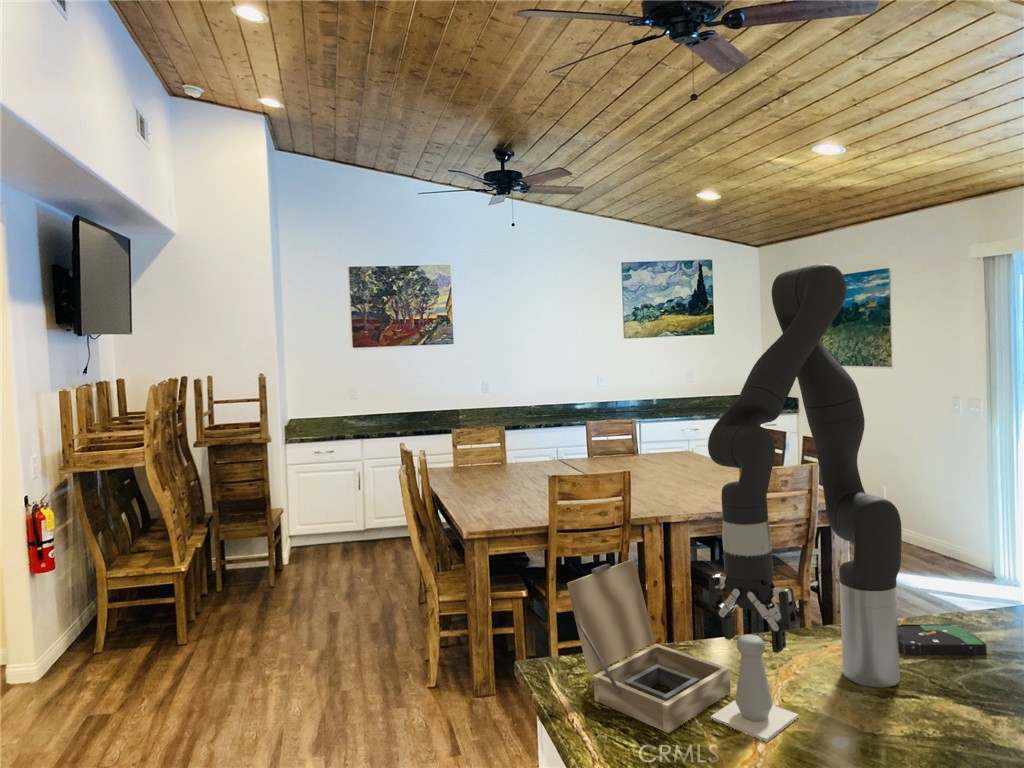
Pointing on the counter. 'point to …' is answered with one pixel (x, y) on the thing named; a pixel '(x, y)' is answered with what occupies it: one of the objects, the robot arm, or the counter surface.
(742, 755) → the counter surface
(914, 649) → the disk drive
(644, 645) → the lid
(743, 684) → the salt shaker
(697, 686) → the case
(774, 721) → the tile
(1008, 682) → the counter surface
